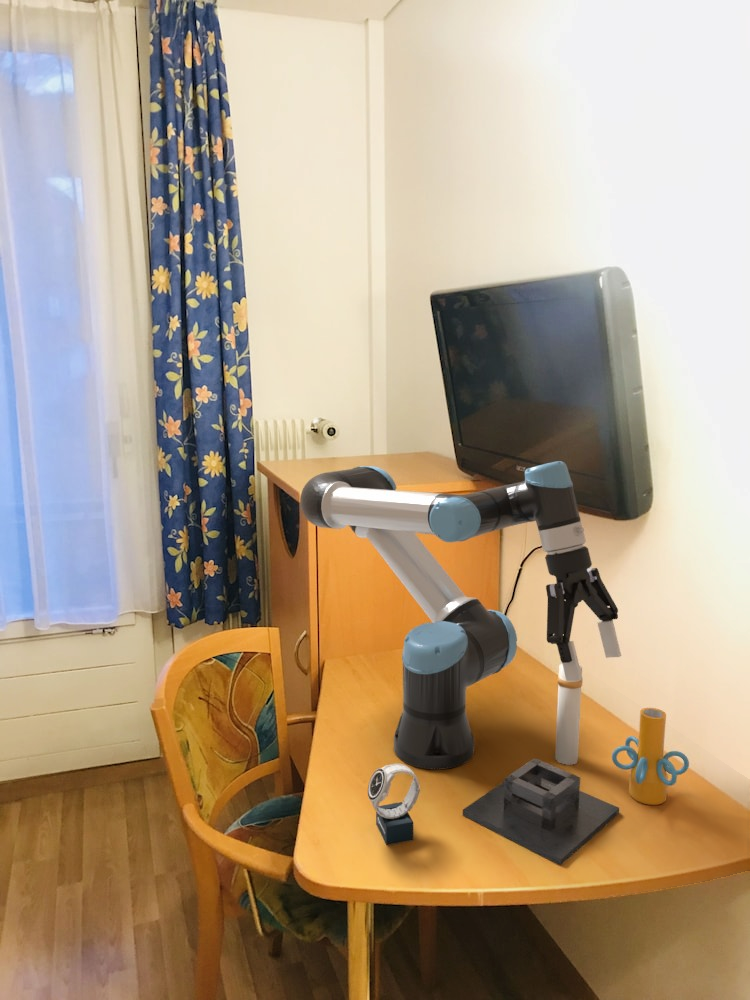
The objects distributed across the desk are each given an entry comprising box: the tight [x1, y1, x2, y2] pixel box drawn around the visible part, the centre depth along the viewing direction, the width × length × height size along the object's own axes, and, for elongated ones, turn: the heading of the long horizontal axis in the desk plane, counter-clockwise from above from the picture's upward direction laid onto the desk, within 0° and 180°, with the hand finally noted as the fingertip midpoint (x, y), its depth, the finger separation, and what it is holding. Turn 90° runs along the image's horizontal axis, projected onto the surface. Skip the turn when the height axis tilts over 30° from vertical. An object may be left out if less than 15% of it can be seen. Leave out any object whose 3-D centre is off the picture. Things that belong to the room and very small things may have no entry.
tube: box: [554, 663, 583, 766], centre depth 141 cm, size 4×4×18 cm
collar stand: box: [462, 757, 620, 866], centre depth 125 cm, size 18×18×6 cm
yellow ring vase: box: [611, 707, 690, 806], centre depth 129 cm, size 12×10×15 cm
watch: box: [367, 763, 421, 846], centre depth 120 cm, size 6×8×11 cm
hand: (594, 668), depth 135 cm, fingers open, 13 cm apart
